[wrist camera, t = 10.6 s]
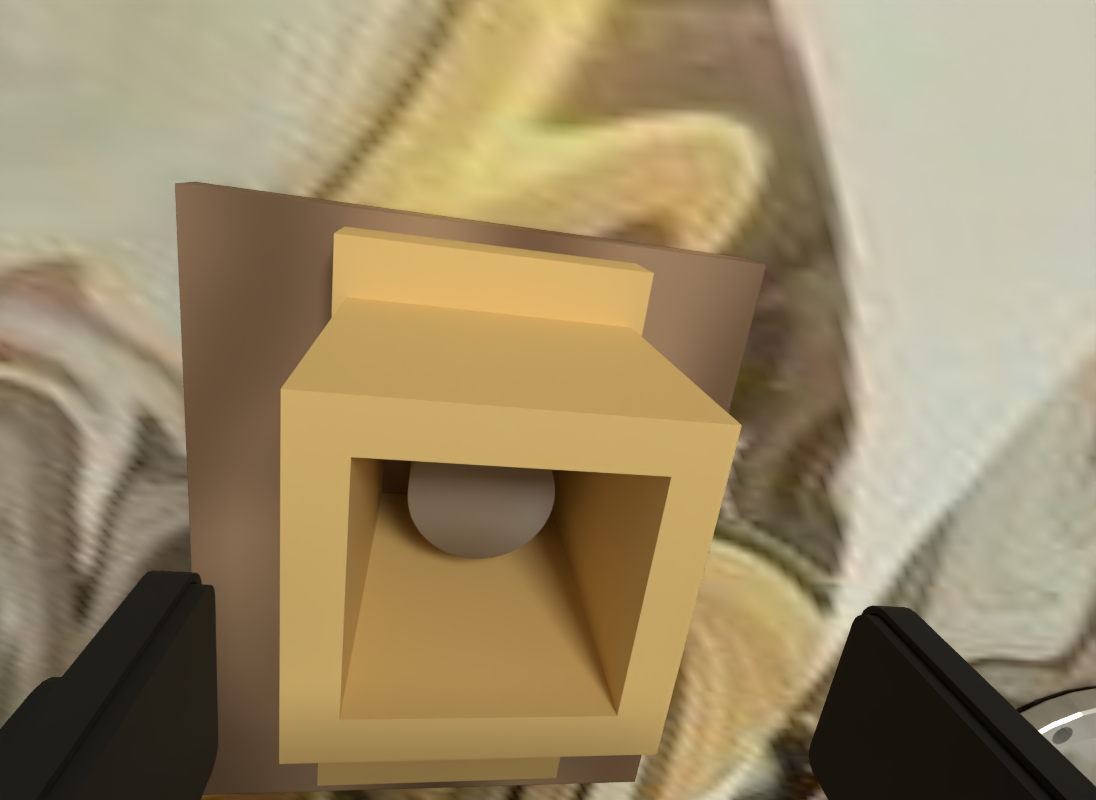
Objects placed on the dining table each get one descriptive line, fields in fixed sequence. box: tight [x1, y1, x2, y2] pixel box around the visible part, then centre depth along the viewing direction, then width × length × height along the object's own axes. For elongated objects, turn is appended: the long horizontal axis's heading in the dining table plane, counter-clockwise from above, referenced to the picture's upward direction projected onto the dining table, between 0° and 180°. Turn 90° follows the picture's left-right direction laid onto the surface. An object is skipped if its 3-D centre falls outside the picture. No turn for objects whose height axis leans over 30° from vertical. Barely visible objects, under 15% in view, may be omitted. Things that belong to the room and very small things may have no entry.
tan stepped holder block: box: [279, 227, 742, 786], centre depth 14 cm, size 16×7×8 cm, turn 172°
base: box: [175, 182, 766, 795], centre depth 17 cm, size 14×18×5 cm
